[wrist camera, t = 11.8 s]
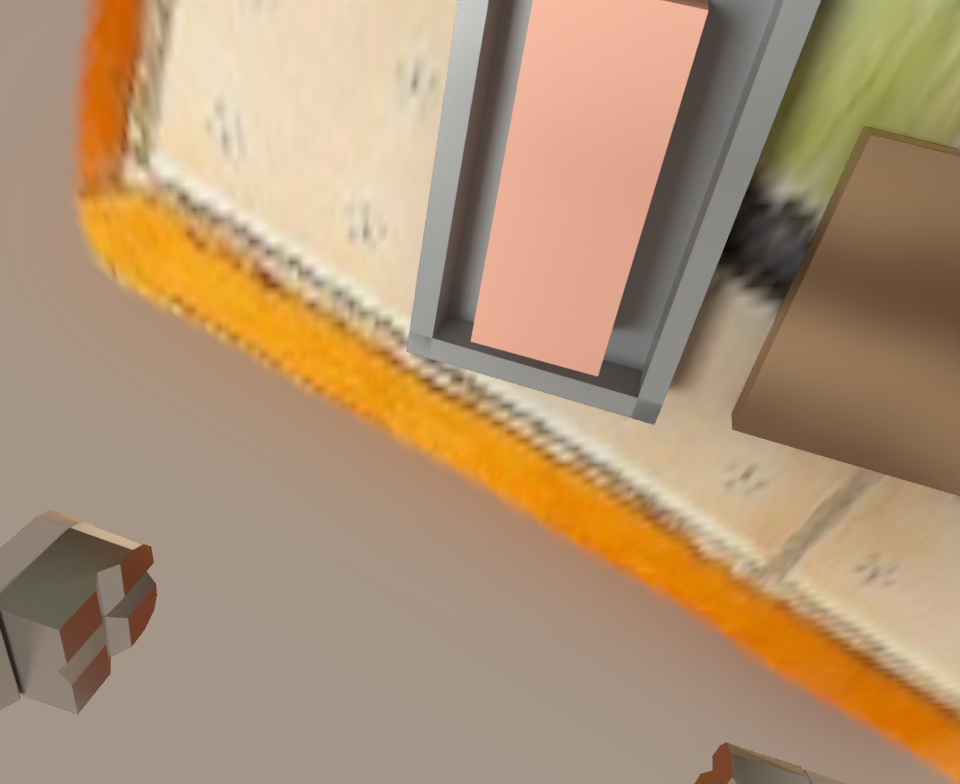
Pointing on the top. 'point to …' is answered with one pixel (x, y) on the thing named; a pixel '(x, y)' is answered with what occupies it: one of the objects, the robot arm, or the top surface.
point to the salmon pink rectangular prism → (581, 171)
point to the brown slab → (872, 322)
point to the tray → (670, 218)
